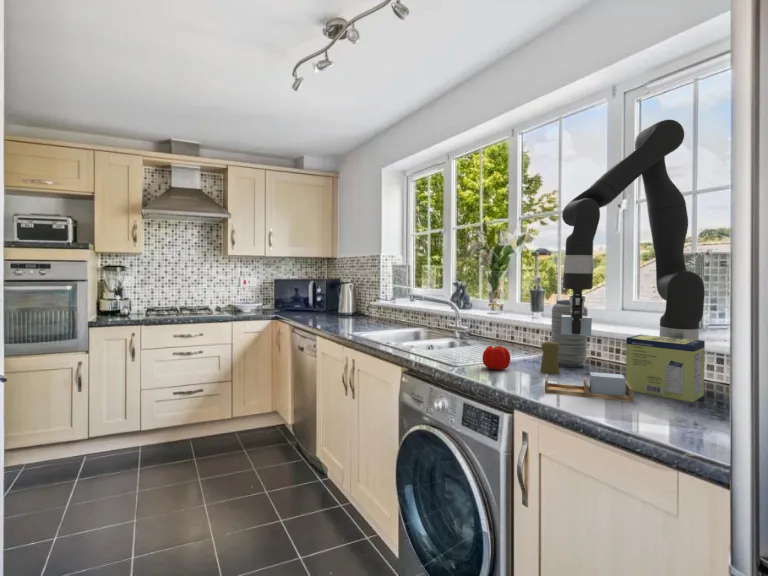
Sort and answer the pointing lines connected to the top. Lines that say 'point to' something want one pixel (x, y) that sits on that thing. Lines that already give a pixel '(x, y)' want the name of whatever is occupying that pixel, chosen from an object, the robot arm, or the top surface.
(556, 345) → the cork
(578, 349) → the vase
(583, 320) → the grey blue block
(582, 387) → the rack
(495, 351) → the tomato
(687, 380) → the protein box
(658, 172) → the robot arm
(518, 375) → the top surface
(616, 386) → the pale blue sponge block
